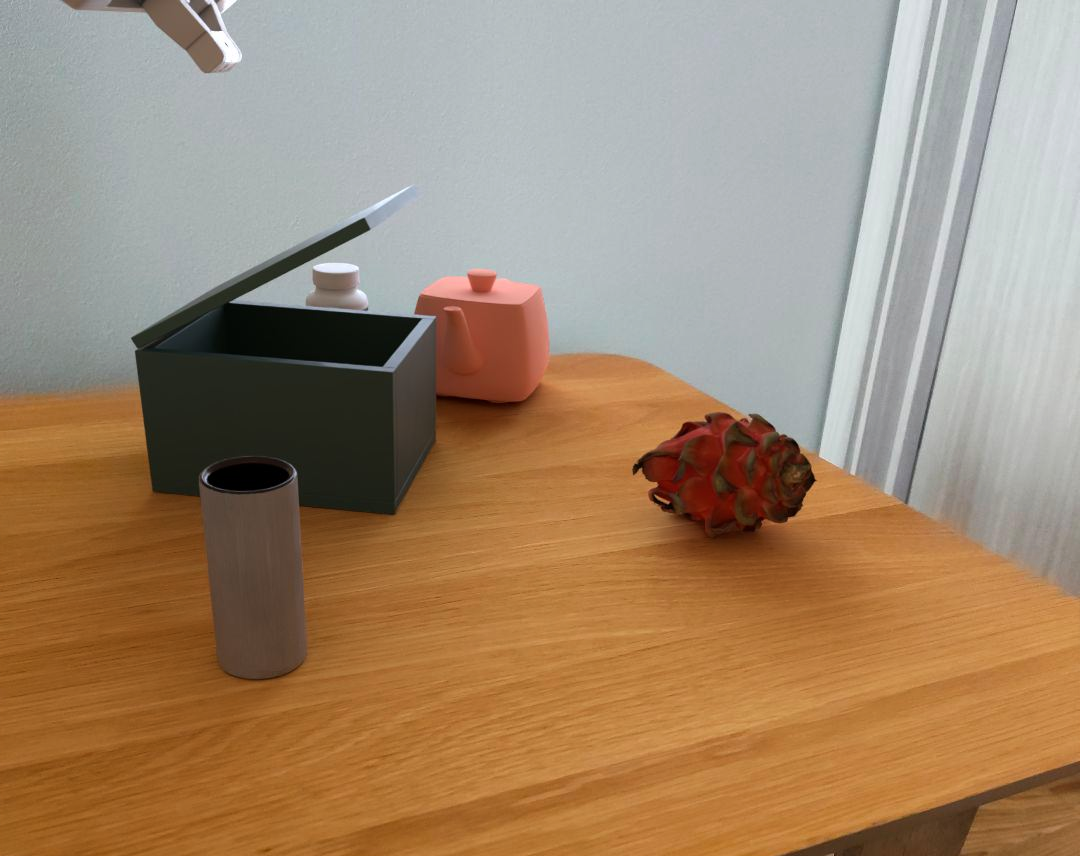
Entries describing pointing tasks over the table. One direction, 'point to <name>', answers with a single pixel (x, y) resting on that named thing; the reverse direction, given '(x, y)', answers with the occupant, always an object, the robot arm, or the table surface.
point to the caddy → (294, 399)
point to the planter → (254, 565)
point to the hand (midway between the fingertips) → (225, 67)
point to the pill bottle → (337, 287)
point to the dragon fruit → (728, 473)
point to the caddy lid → (278, 265)
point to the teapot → (487, 336)
